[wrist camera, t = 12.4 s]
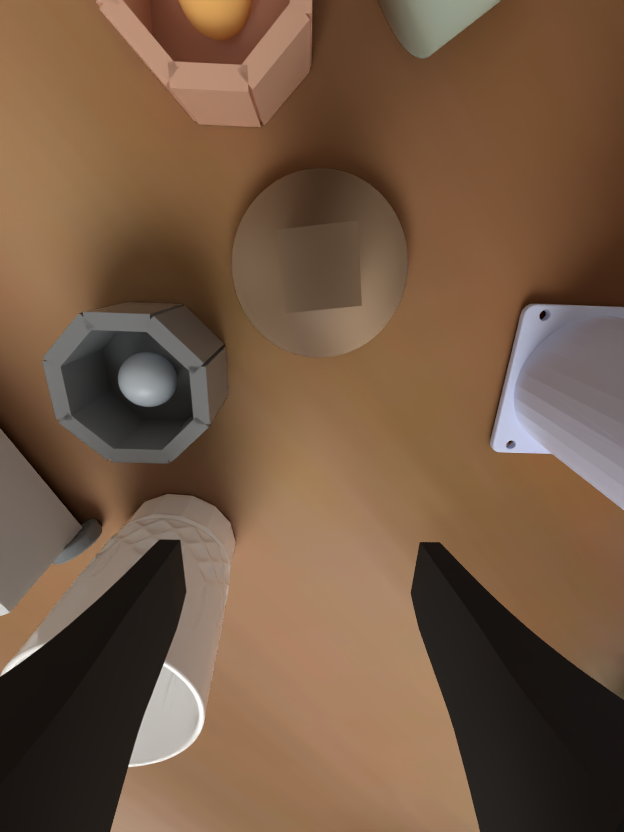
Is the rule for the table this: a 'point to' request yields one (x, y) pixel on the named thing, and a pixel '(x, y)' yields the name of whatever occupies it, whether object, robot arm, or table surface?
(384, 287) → the lid
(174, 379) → the mug ball
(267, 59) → the open cup
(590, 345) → the robot arm
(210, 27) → the exposed orange ball
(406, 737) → the table surface
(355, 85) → the table surface
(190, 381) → the gray octagonal cup
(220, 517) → the white cup
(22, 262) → the table surface
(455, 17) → the mint green cylinder
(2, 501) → the grey white mechanical model
